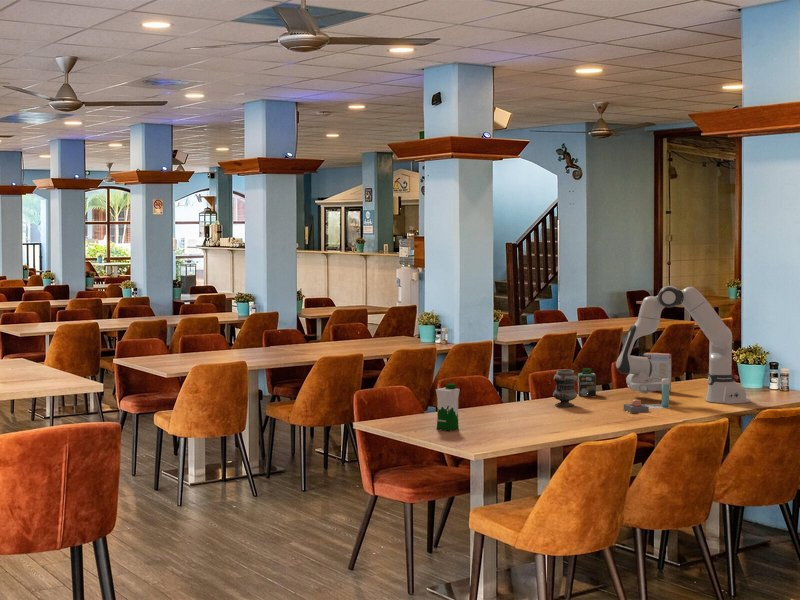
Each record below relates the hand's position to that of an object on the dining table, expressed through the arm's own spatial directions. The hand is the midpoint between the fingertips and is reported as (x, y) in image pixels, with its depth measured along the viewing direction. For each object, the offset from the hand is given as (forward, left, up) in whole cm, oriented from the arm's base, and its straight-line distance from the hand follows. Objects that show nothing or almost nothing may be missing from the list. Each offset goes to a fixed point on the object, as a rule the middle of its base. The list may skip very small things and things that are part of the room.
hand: (655, 388), depth 512 cm
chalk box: (+23, -36, -9) cm, 43 cm away
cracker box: (-20, -42, -9) cm, 47 cm away
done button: (+18, +17, -7) cm, 26 cm away
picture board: (+6, +7, -8) cm, 13 cm away
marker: (0, +11, -8) cm, 14 cm away
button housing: (+18, +17, -8) cm, 26 cm away
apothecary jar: (+46, -6, -9) cm, 47 cm away
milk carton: (+118, +43, -9) cm, 126 cm away
